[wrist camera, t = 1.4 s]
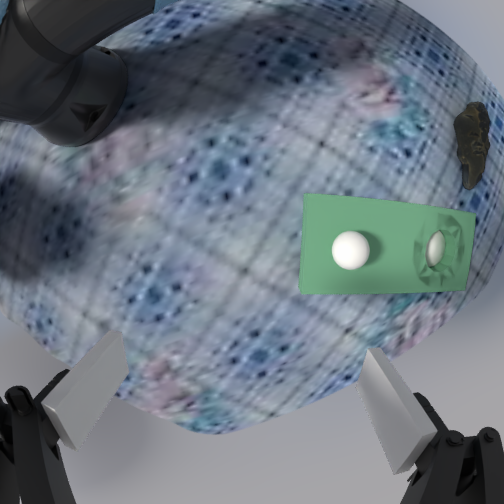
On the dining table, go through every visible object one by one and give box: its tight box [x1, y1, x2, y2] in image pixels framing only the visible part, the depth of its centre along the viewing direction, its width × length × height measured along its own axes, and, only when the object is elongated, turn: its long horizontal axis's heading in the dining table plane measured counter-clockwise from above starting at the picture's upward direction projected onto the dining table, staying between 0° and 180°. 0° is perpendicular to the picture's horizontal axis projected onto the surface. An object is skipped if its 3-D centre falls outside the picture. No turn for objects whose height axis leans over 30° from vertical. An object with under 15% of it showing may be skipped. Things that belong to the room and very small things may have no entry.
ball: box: [332, 231, 370, 270], centre depth 27 cm, size 4×4×4 cm
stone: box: [453, 102, 490, 190], centre depth 25 cm, size 7×13×5 cm, turn 172°
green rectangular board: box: [298, 193, 476, 294], centre depth 30 cm, size 25×11×2 cm, turn 88°
